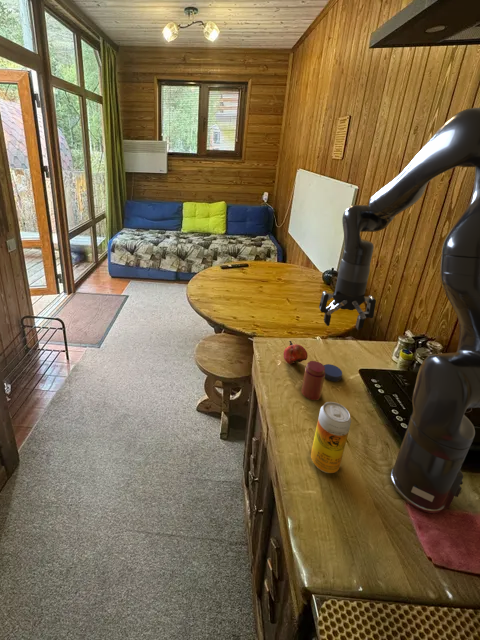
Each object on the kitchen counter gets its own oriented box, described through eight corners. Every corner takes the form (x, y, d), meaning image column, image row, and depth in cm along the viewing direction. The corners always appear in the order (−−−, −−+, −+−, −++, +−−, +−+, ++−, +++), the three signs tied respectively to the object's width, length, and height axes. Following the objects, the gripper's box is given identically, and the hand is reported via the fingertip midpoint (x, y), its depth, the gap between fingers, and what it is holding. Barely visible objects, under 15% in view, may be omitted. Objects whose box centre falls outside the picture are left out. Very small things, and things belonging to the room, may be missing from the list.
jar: (317, 386, 92) (322, 360, 89) (323, 400, 87) (329, 373, 84) (299, 385, 92) (303, 359, 89) (304, 399, 87) (309, 372, 84)
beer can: (313, 473, 68) (325, 421, 62) (307, 448, 73) (317, 398, 68) (342, 477, 67) (356, 425, 62) (334, 451, 72) (346, 402, 67)
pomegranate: (308, 373, 101) (301, 343, 106) (313, 368, 95) (306, 336, 100) (285, 374, 101) (279, 344, 107) (289, 369, 95) (283, 338, 101)
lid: (320, 366, 101) (321, 362, 100) (340, 371, 99) (341, 366, 98) (321, 378, 96) (322, 374, 95) (342, 383, 94) (343, 378, 93)
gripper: (328, 278, 84) (319, 330, 89) (385, 284, 81) (372, 336, 87) (323, 269, 91) (315, 317, 96) (375, 273, 88) (364, 323, 93)
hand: (342, 326), depth 91 cm, fingers open, 8 cm apart
